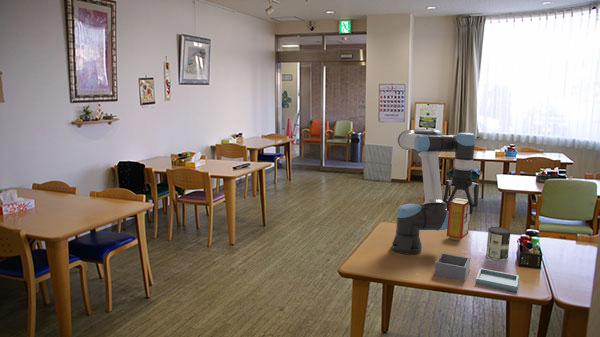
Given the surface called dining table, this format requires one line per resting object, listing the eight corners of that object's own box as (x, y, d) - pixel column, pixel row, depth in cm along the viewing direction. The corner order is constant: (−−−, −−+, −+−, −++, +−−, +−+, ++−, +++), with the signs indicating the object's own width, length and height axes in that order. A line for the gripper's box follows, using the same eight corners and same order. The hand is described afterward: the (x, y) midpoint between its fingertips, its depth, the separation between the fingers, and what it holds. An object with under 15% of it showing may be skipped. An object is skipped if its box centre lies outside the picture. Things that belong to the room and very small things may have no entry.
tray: (475, 283, 196) (476, 278, 195) (479, 273, 207) (479, 268, 207) (516, 292, 188) (517, 286, 188) (518, 280, 200) (518, 275, 199)
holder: (434, 274, 204) (435, 262, 203) (440, 264, 216) (441, 252, 215) (464, 281, 198) (465, 268, 197) (469, 270, 210) (470, 258, 209)
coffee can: (505, 254, 232) (508, 227, 229) (510, 261, 222) (513, 233, 219) (483, 252, 234) (486, 225, 231) (487, 259, 224) (490, 232, 221)
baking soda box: (461, 239, 198) (464, 203, 195) (446, 236, 202) (449, 200, 199) (468, 233, 205) (471, 199, 202) (453, 230, 209) (456, 197, 206)
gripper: (437, 167, 200) (434, 218, 204) (486, 172, 190) (481, 225, 194) (441, 165, 206) (437, 214, 210) (488, 169, 197) (483, 221, 201)
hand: (458, 219), depth 202 cm, fingers closed on baking soda box, 7 cm apart
